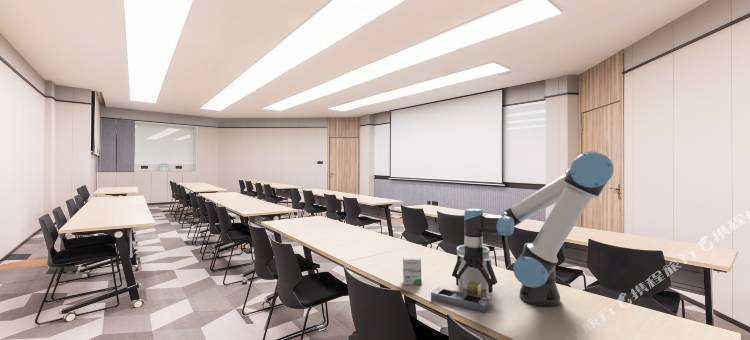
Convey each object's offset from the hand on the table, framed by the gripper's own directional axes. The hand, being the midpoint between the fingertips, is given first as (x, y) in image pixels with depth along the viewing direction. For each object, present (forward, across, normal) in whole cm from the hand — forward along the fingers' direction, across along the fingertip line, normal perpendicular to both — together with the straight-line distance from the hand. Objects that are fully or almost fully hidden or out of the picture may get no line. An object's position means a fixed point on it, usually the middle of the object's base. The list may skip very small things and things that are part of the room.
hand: (473, 296), depth 139 cm
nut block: (0, 0, 0) cm, 0 cm away
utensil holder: (0, +5, -13) cm, 14 cm away
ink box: (0, +30, 0) cm, 30 cm away
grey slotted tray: (0, +3, +9) cm, 9 cm away
